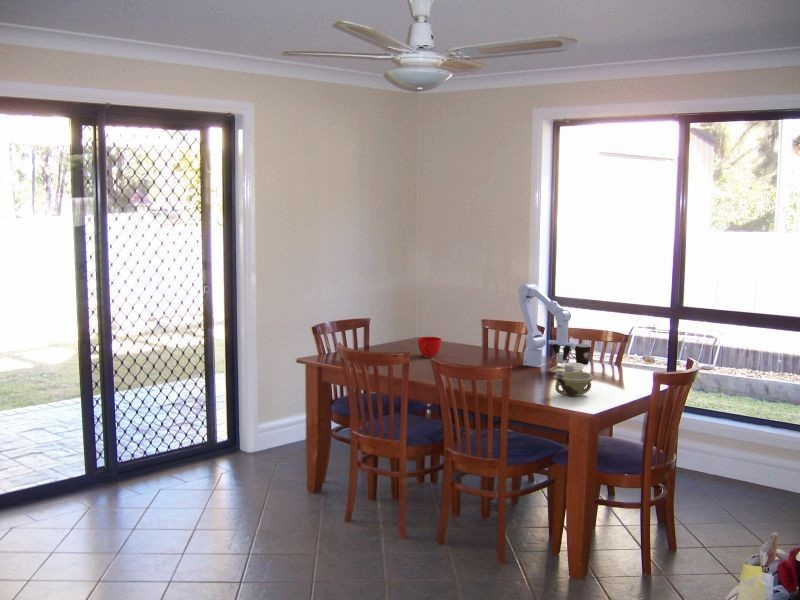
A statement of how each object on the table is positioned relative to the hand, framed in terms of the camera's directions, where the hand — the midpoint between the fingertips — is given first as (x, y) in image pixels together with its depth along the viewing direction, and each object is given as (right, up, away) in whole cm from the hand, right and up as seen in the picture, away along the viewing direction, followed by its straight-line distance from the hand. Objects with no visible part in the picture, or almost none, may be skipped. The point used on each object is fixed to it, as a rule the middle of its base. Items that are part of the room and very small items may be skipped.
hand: (561, 359), depth 417 cm
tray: (+1, -6, -2) cm, 7 cm away
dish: (+8, -5, +6) cm, 12 cm away
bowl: (-4, -13, -47) cm, 49 cm away
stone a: (0, -2, 0) cm, 2 cm away
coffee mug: (+14, -4, +19) cm, 23 cm away
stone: (+3, -7, -7) cm, 10 cm away
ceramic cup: (-68, -1, +33) cm, 76 cm away
